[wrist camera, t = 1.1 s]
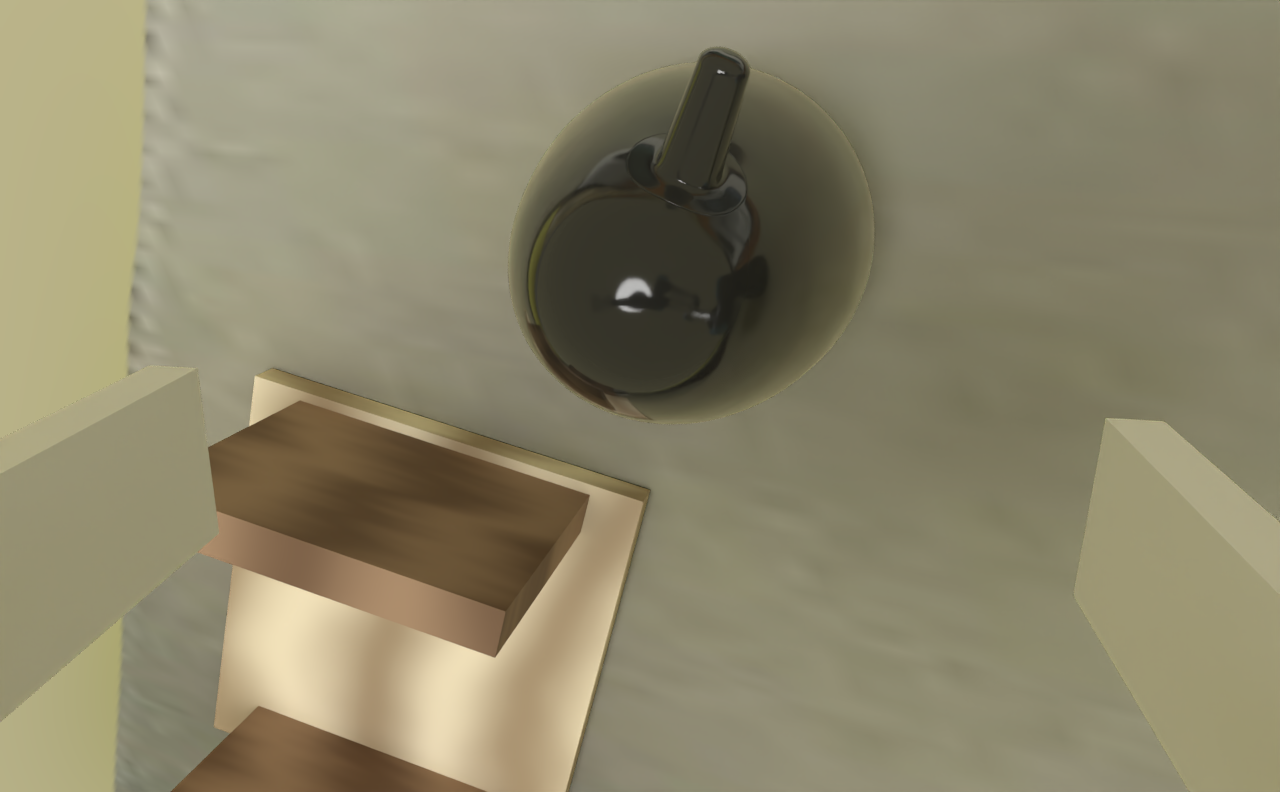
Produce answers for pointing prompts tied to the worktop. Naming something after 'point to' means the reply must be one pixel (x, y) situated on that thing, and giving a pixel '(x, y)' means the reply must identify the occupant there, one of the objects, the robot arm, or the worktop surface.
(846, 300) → the pump dispenser
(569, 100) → the worktop surface
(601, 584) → the caddy
